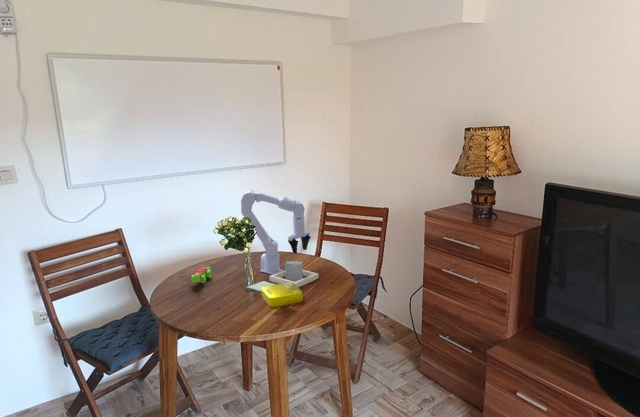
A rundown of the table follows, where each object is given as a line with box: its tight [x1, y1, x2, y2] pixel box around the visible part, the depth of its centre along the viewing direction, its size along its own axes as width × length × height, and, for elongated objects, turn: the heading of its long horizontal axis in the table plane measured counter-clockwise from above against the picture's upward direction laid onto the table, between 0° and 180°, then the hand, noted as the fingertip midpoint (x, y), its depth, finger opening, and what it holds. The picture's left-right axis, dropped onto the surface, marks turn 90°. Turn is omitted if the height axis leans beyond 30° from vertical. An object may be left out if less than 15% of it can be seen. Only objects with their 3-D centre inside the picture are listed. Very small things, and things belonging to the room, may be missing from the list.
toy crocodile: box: [190, 266, 212, 284], centre depth 213 cm, size 20×7×6 cm, turn 176°
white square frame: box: [268, 269, 319, 288], centre depth 212 cm, size 17×17×2 cm
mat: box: [247, 280, 276, 293], centre depth 203 cm, size 10×10×1 cm
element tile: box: [261, 282, 303, 308], centre depth 189 cm, size 15×15×5 cm
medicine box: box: [284, 260, 304, 282], centre depth 211 cm, size 8×4×9 cm, turn 77°
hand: (299, 251), depth 223 cm, fingers open, 7 cm apart
